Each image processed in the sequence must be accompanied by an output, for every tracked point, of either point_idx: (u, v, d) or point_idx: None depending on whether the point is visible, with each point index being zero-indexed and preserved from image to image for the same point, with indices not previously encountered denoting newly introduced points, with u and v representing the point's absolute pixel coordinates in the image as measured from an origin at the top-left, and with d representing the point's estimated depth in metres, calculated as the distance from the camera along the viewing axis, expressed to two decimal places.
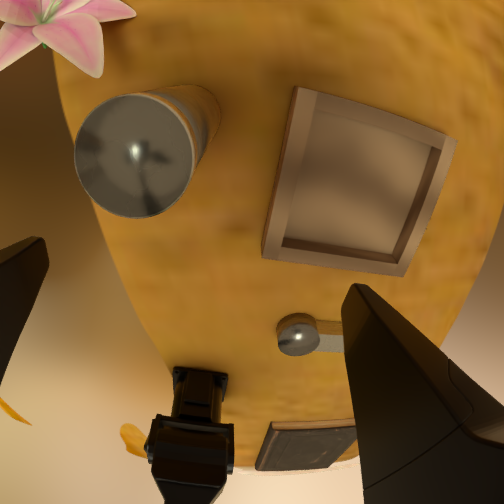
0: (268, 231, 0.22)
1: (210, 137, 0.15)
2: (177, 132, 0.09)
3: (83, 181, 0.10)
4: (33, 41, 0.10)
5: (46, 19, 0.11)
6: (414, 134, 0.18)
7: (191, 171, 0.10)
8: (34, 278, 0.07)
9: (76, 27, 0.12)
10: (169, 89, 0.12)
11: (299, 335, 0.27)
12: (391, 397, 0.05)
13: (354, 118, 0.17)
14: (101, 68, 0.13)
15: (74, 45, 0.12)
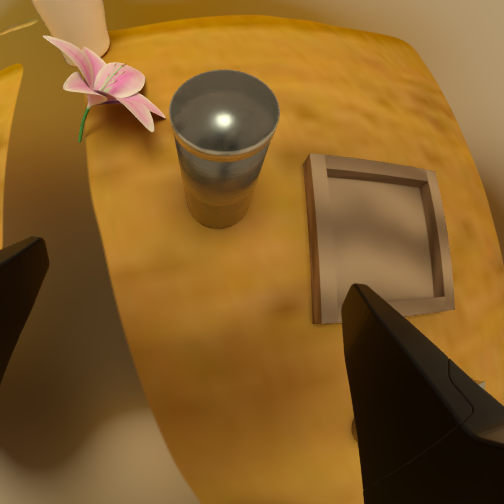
0: (321, 289, 0.20)
1: None
2: (263, 90, 0.12)
3: (176, 124, 0.11)
4: (97, 93, 0.17)
5: None
6: (404, 174, 0.23)
7: (278, 114, 0.12)
8: (34, 278, 0.07)
9: (128, 100, 0.19)
10: None
11: None
12: (391, 396, 0.05)
13: (357, 170, 0.23)
14: (152, 127, 0.18)
15: (130, 106, 0.18)
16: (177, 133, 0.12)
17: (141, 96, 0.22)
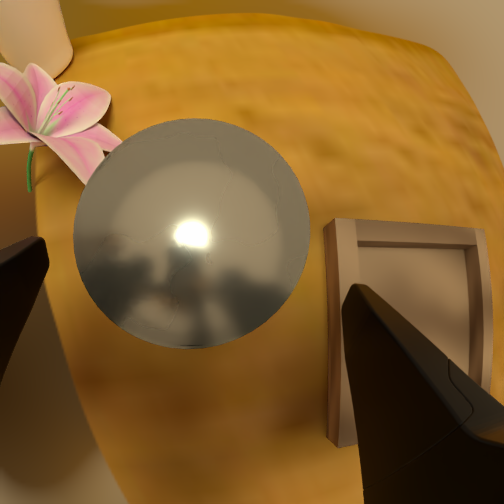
0: (340, 410, 0.14)
1: None
2: (273, 169, 0.06)
3: (86, 271, 0.05)
4: (27, 137, 0.10)
5: None
6: (451, 238, 0.17)
7: (306, 234, 0.06)
8: (34, 278, 0.07)
9: (75, 142, 0.13)
10: None
11: None
12: (391, 396, 0.05)
13: (397, 240, 0.16)
14: None
15: (73, 154, 0.12)
16: (90, 292, 0.05)
17: (101, 128, 0.16)
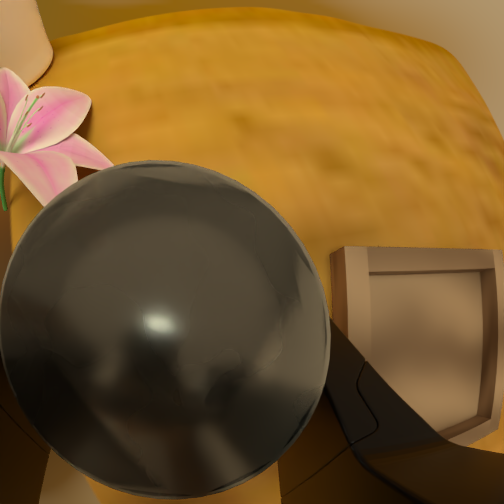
0: None
1: None
2: (276, 249, 0.04)
3: (21, 395, 0.03)
4: None
5: None
6: (469, 263, 0.15)
7: (324, 352, 0.04)
8: None
9: (44, 159, 0.11)
10: None
11: None
12: None
13: (413, 269, 0.14)
14: None
15: (39, 176, 0.10)
16: (31, 419, 0.03)
17: (78, 139, 0.14)
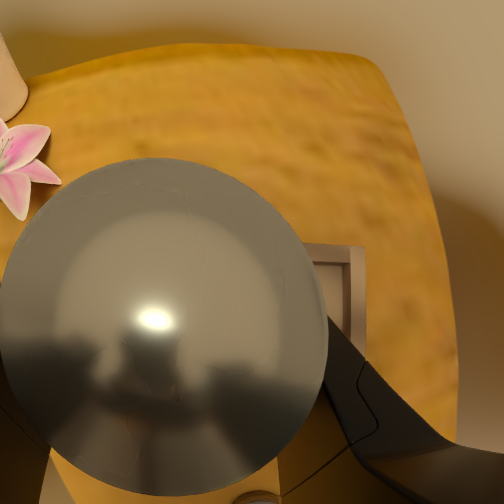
0: None
1: None
2: (274, 246, 0.04)
3: (20, 392, 0.03)
4: None
5: None
6: (313, 256, 0.21)
7: (322, 349, 0.04)
8: None
9: (13, 179, 0.17)
10: None
11: None
12: None
13: None
14: (25, 214, 0.16)
15: (8, 190, 0.16)
16: (30, 416, 0.03)
17: (38, 162, 0.20)
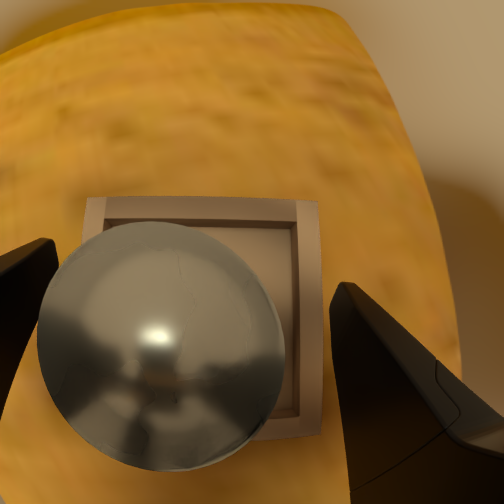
0: None
1: None
2: (244, 293, 0.05)
3: (57, 397, 0.04)
4: None
5: None
6: (243, 213, 0.16)
7: (280, 367, 0.05)
8: (44, 280, 0.07)
9: None
10: None
11: None
12: (376, 398, 0.05)
13: (153, 216, 0.15)
14: None
15: None
16: (65, 414, 0.04)
17: None
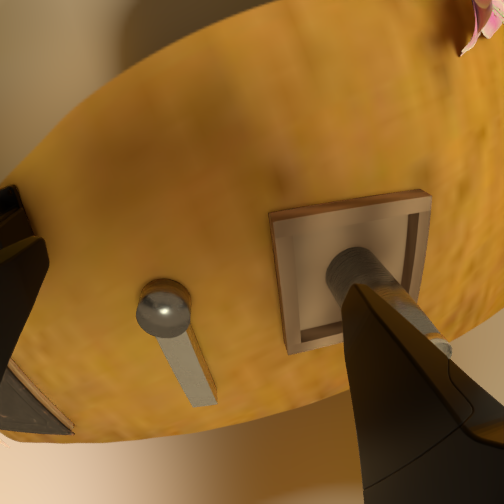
0: (307, 216, 0.20)
1: None
2: None
3: None
4: (489, 1, 0.09)
5: None
6: (412, 289, 0.24)
7: None
8: (34, 278, 0.07)
9: (480, 27, 0.12)
10: None
11: (175, 313, 0.21)
12: (391, 397, 0.05)
13: (416, 243, 0.22)
14: (463, 51, 0.12)
15: (480, 31, 0.11)
16: None
17: (477, 35, 0.14)
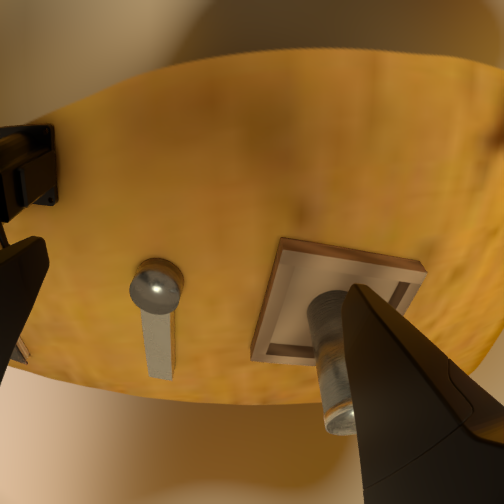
0: (314, 254, 0.21)
1: None
2: None
3: None
4: None
5: None
6: None
7: (343, 434, 0.18)
8: (34, 278, 0.07)
9: None
10: None
11: (167, 295, 0.23)
12: (391, 397, 0.05)
13: (397, 307, 0.24)
14: None
15: None
16: None
17: None
